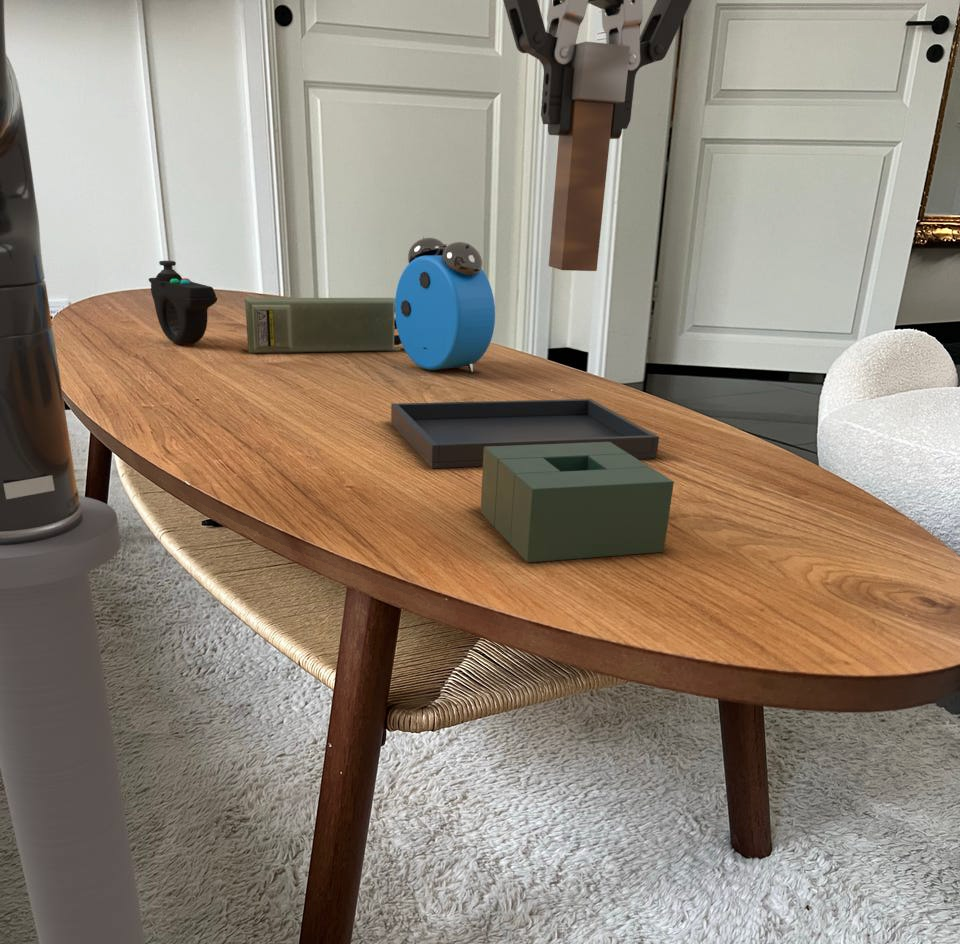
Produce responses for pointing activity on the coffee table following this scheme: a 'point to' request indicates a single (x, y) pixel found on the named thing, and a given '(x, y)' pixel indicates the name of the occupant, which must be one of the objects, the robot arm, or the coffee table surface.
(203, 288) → the controller
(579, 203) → the brown and grey block
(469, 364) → the alarm clock
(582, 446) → the holder
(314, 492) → the coffee table surface
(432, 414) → the tray
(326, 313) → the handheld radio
